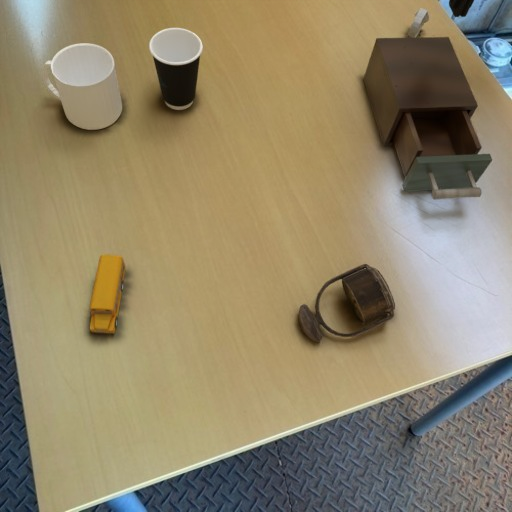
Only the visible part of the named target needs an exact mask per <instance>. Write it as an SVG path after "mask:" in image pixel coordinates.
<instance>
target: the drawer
mask: <svg viewBox="0 0 512 512" xmlns="http://www.w3.org/2000/svg"><path fill="white" fill-rule="evenodd" d="M392 138H393V141H394V144H395V146H394V148H395V151H396V153H397V157H398V160H399V163H400V166H401V170H402V174H403V176H404V180H403V182H402V184H401V188H402V191H403V192H414V191H431V197H432V198H431V199H433V200H450V199H466V198H467V199H468V198H469V199H470V198H480V197H481V196H482V193H483V191H482V188H481V187H479V186H477V183H478V182H479V180H480V178H481V177H482V176H483V174H484V173H485V171H486V170H487V168H488V167H489V166H490V164H491V163H492V161H493V158H492V156H491V153H480V151H481V150H482V148H483V147H482V144H481V142H480V139H479V137H478V134H477V132H476V130H475V128H474V124H473V122H472V120H471V118H469V115H468V113H467V110H444V111H414V112H403V113H402V115H401V117H400V120H399V122H398V124H397V127H396V129H395V131H394V133H393V136H392Z"/></svg>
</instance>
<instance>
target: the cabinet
mask: <svg viewBox="0 0 512 512" xmlns="http://www.w3.org/2000/svg"><path fill="white" fill-rule="evenodd" d="M374 41H375V42H374V44H373V48H372V51H371V54H370V57H369V60H368V64H367V66H366V69H365V73H364V75H363V82H364V86H365V87H366V91H367V95H368V99H369V102H370V106H371V109H372V113H373V115H374V119H375V122H376V125H377V128H378V132H379V137H380V139H381V142H382V146H383V147H395V144H394V141H393V138H392V136H393V133H394V131H395V129H396V127H397V124H398V122H399V120H400V117H401V115H402V113H403V112H414V111H444V110H467V113H468V115H469V118H470V119H472V116H473V115H474V114H475V112H476V110H477V108H478V107H479V105H478V103H477V99H476V97H475V94H474V93H473V91H472V88H471V86H470V83H469V82H468V79H467V76H466V74H465V72H464V69H463V66H462V65H461V63H460V59H459V58H458V55H457V53H456V51H455V49H454V46H453V43H452V41H451V39H450V37H449V36H433V37H432V36H431V37H430V36H429V37H428V36H425V37H424V36H423V37H419V36H418V37H416V38H412V37H376V38H375V40H374Z"/></svg>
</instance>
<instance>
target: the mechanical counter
mask: <svg viewBox="0 0 512 512" xmlns="http://www.w3.org/2000/svg"><path fill="white" fill-rule="evenodd" d="M338 281H341V285H342V289H343V293H344V296H345V298H346V300H347V302H348V304H349V306H350V308H351V309H352V311H353V312H352V313H354V315H355V316H356V319H357V320H358V321H359V323H361V324H362V325H366V324H368V323H370V322H372V321H374V322H372V323H370V324H368V325H366V326H365V327H362V328H360V329H358V330H355V331H354V332H350V333H343V332H338V331H337V330H335V329H332V328H331V327H330V326H329V325H327V324H326V322H325V321H324V319H323V317H322V315H321V311H320V301H321V298H322V295H323V293H324V292H325V290H326V289H327V288H328V287H329V286H330V285H332V284H334V283H335V282H338ZM314 309H315V313H314V314H313V313H312V311H311V308H310V307H309V306H308V304H306V303H303V304H302V305H300V307H299V310H298V323H299V326H300V328H301V329H302V332H303V333H304V334H305V335H306V336H307V337H308V338H309V339H310V340H311V341H314V342H317V343H320V342H321V341H322V340H323V335H322V332H321V330H320V326H321V327H322V328H324V330H325V331H327V332H328V333H330V334H332V335H334V336H337V337H341V338H353V337H357V336H359V335H361V334H363V333H366V332H368V331H369V330H372V329H374V328H376V327H378V326H380V325H382V324H384V323H386V322H388V321H390V320H392V319H393V318H394V317H395V312H394V310H395V309H396V303H395V299H394V296H393V294H392V291H391V289H390V287H389V285H388V282H387V281H386V279H385V277H384V276H383V274H382V273H381V272H380V271H379V269H377V268H375V267H373V266H370V265H369V264H367V263H363V264H361V265H358V266H356V267H354V268H351V269H349V270H347V271H345V272H343V273H341V274H338V275H336V276H334V277H332V278H330V279H329V280H327V281H326V282H324V283H323V285H322V287H321V288H320V289H319V290H318V292H317V295H316V298H315V304H314ZM388 314H389V315H388ZM385 315H386V316H385ZM382 316H384V317H383V318H381V317H382ZM379 318H380V319H379ZM376 319H377V320H376ZM375 320H376V321H375Z"/></svg>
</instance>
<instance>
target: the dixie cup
mask: <svg viewBox="0 0 512 512" xmlns="http://www.w3.org/2000/svg"><path fill="white" fill-rule="evenodd" d="M148 48H149V52H150V54H151V55H152V59H153V63H154V67H155V71H156V75H157V79H158V84H159V88H160V92H161V96H162V100H163V101H164V103H165V104H166V106H167V107H168V108H170V109H172V110H175V111H183V110H186V109H189V108H190V107H191V106H192V105H193V103H194V100H195V98H196V93H197V85H198V76H199V68H200V59H201V55H202V53H203V49H204V47H203V42H202V40H201V38H200V37H199V36H198V35H197V34H196V33H194V32H193V31H191V30H189V29H186V28H183V27H182V28H181V27H168V28H165V29H162V30H159V31H157V32H156V33H155V34H154V35H153V36H152V37H151V38H150V40H149V43H148Z"/></svg>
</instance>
